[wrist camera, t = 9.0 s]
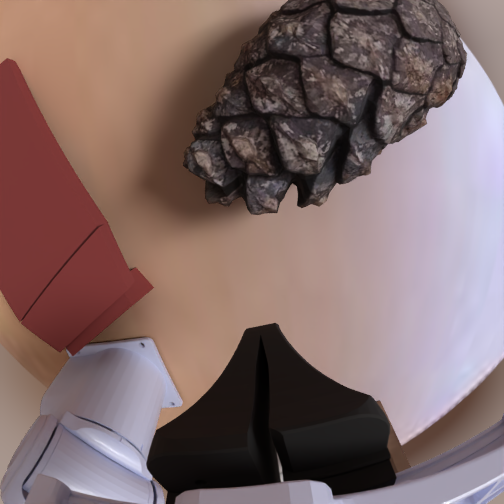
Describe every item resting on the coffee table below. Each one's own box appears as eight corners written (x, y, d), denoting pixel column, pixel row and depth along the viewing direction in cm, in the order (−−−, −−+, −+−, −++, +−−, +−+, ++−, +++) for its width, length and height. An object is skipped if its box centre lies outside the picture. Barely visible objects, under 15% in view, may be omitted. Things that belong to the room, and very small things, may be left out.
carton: (-23, 152, 21) (85, 345, 23) (-54, 152, 16) (55, 371, 19) (36, 64, 19) (173, 271, 21) (4, 51, 14) (146, 293, 16)
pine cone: (172, 162, 19) (107, 171, 9) (323, -16, 15) (365, -95, 5) (297, 250, 21) (337, 327, 11) (430, 70, 17) (519, 43, 7)
